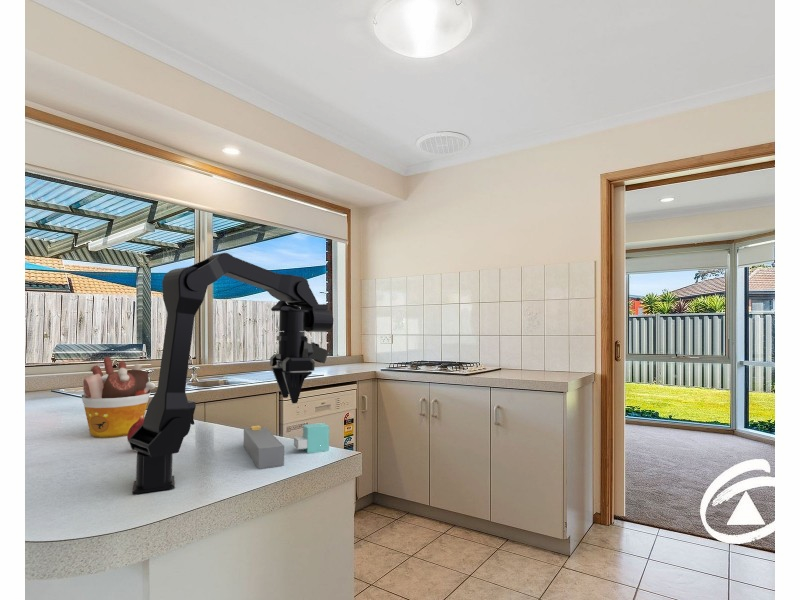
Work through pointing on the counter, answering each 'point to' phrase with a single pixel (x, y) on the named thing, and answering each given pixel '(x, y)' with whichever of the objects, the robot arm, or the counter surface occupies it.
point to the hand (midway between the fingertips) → (289, 400)
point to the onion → (135, 427)
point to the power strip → (263, 447)
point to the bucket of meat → (115, 399)
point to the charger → (313, 438)
